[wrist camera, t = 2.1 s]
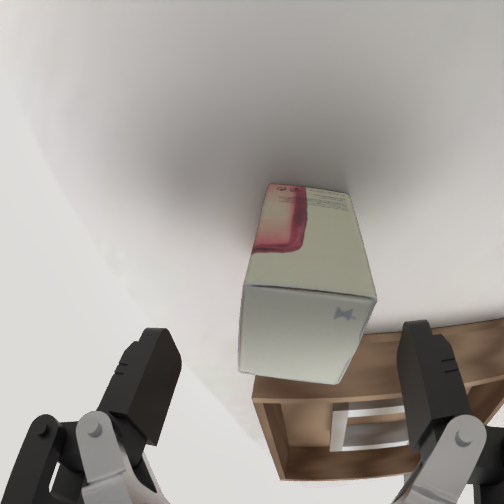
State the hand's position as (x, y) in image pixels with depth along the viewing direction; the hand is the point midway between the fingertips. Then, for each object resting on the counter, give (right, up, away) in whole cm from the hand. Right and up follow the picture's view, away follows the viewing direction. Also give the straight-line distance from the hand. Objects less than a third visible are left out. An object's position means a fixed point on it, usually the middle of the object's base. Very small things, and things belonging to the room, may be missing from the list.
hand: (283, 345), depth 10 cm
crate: (+10, -10, +15) cm, 21 cm away
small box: (+2, +4, +7) cm, 8 cm away
